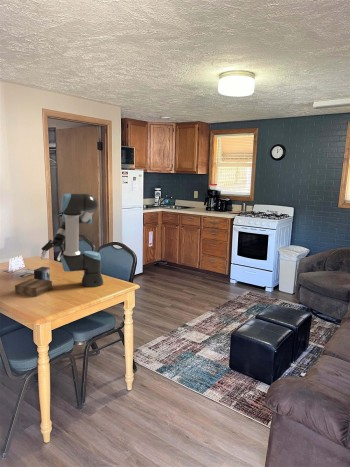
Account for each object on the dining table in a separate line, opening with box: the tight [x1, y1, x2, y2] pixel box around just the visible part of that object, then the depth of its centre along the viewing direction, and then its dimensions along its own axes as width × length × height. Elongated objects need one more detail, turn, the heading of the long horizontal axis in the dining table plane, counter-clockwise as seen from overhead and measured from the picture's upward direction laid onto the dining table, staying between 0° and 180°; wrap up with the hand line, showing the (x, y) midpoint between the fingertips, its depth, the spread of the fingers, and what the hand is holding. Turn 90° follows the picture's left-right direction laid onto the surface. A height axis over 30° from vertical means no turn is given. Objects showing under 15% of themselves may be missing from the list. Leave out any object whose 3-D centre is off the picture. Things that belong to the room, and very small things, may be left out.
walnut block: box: [14, 277, 53, 298], centre depth 224 cm, size 16×16×6 cm
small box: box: [33, 266, 51, 281], centre depth 241 cm, size 11×6×10 cm, turn 168°
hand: (49, 259), depth 249 cm, fingers open, 13 cm apart
